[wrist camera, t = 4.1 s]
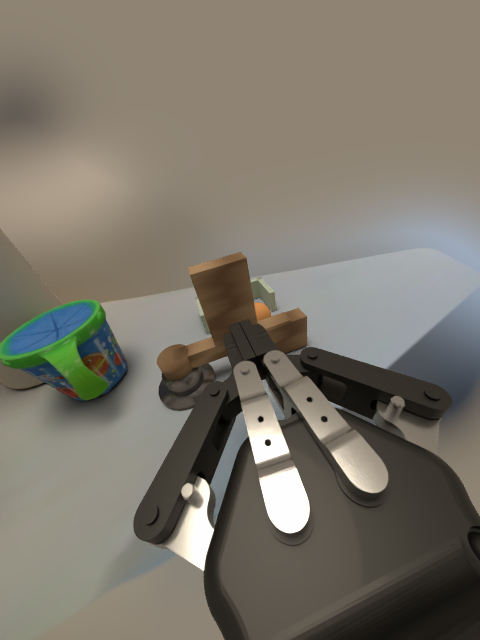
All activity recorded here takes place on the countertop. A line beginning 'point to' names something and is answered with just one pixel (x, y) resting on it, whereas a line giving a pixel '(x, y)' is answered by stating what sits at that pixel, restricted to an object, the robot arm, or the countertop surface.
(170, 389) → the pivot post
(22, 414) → the countertop surface
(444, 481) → the robot arm
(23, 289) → the cylinder vase
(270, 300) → the sage green c-shaped clamp
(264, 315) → the ball
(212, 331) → the lever
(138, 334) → the countertop surface
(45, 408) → the countertop surface
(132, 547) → the countertop surface
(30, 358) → the snack cup
